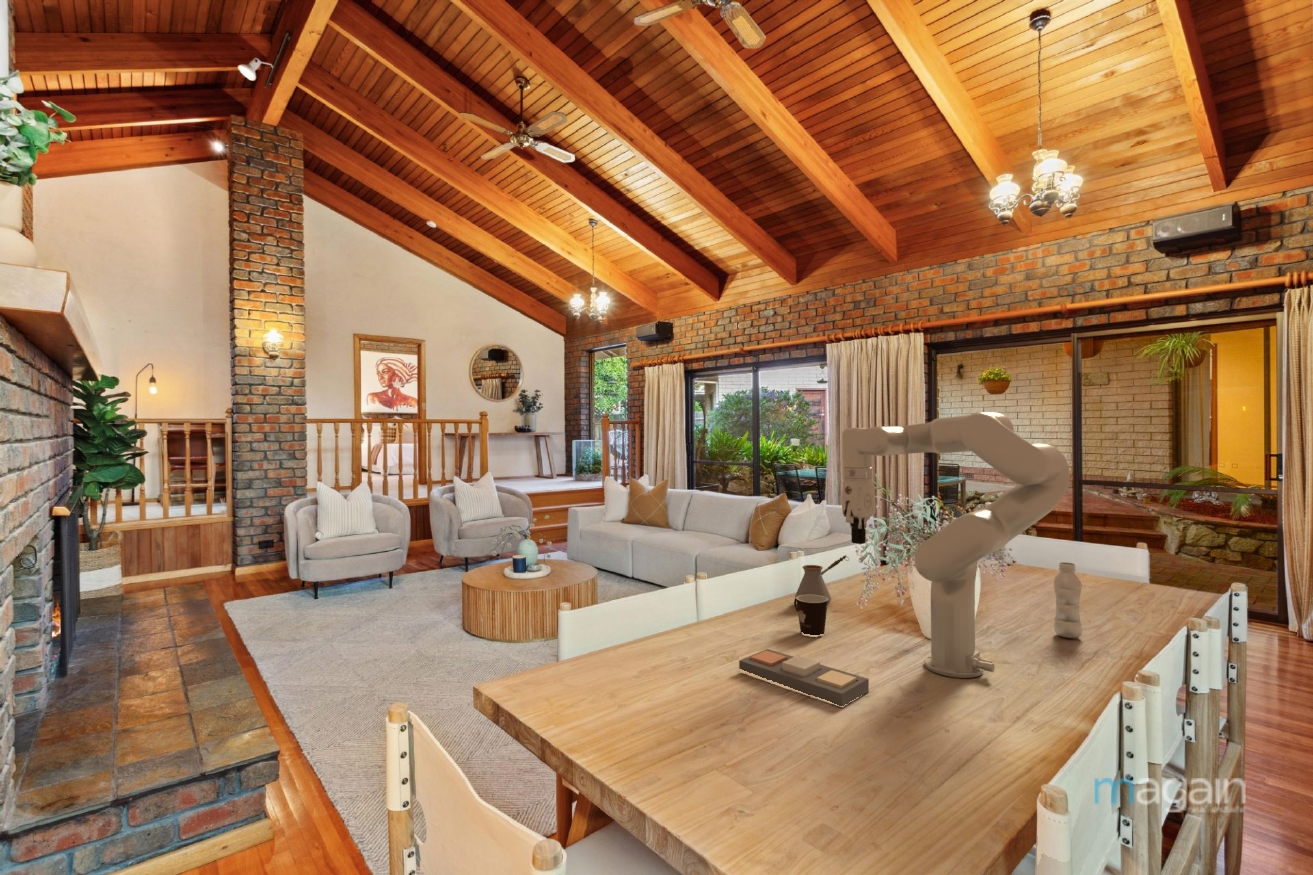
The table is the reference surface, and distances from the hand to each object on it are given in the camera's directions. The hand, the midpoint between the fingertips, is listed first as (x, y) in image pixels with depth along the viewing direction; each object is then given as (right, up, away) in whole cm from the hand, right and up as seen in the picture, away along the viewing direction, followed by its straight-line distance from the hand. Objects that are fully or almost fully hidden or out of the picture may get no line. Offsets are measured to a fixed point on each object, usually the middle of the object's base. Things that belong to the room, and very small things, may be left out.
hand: (858, 543), depth 165 cm
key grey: (-21, -25, -24) cm, 40 cm away
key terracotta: (-27, -26, -17) cm, 41 cm away
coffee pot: (+2, -27, +40) cm, 48 cm away
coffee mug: (-10, -27, +11) cm, 31 cm away
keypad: (-21, -28, -24) cm, 42 cm away
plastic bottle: (+58, -26, +3) cm, 64 cm away
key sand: (-15, -26, -31) cm, 43 cm away
